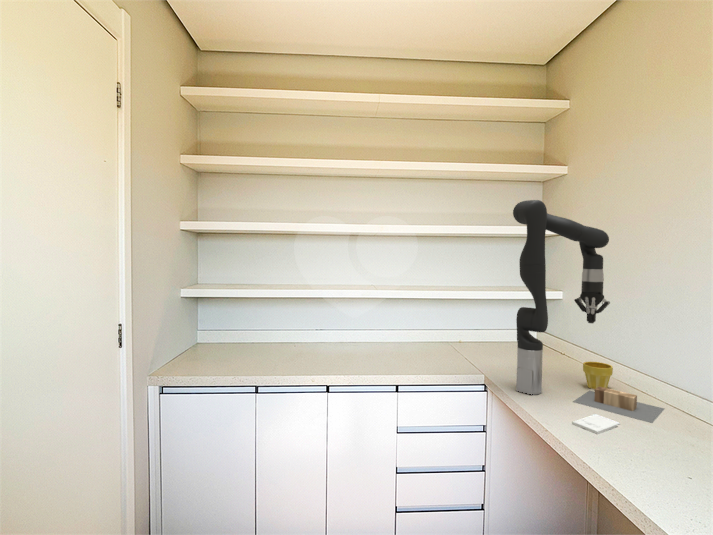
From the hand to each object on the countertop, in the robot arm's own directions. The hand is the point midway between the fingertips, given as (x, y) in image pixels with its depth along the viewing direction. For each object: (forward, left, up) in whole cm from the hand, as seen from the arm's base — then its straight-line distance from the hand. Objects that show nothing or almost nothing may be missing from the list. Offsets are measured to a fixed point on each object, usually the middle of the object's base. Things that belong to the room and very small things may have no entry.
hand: (591, 323), depth 161 cm
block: (-13, -19, -24) cm, 33 cm away
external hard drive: (-36, -13, -28) cm, 47 cm away
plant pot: (+3, -2, -27) cm, 27 cm away
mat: (-13, -14, -27) cm, 33 cm away
